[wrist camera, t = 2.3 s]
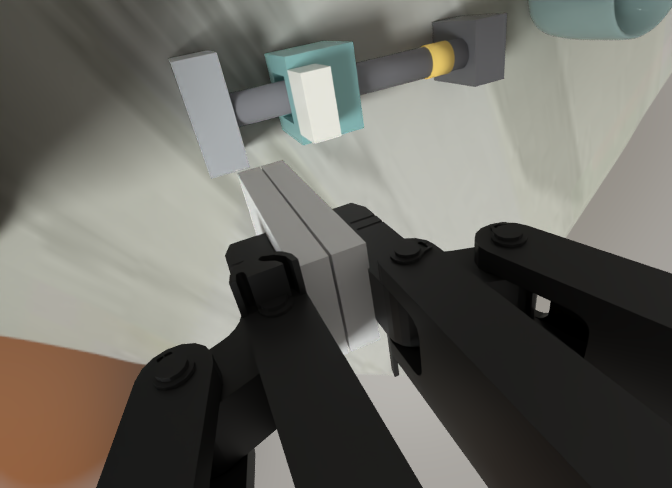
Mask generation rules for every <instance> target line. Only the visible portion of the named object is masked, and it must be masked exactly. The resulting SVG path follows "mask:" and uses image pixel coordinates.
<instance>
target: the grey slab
mask: <svg viewBox="0 0 672 488" xmlns="http://www.w3.org/2000/svg"><path fill="white" fill-rule="evenodd" d="M168 59H169V62H170V64H171V67H172V70H173V73H174V76H175V79H176V82H177V84H178V87H179V90H180V93H181V96H182V99H183V101H184V104H185V107H186V110H187V113H188V116H189V118H190V121H191V124H192V127H193V130H194V133H195V135H196V138H197V141H198V144H199V147H200V150H201V153H202V155H203V158H204V161H205V164H206V166H207V169H208V172H209V174H210V177H211V179H212V178H215V177H218V176H222V175H225V174H229V173H232V172H236V171H239V170H243V169H246V168H250V165H249V161H248V158H247V155H246V151H245V148H244V144H243V141H242V137H241V134H240V131H239V127H238V124H237V120H236V117H235V113H234V110H233V107H232V103H231V100H230V96H229V93H228V90H227V86H226V83H225V79H224V76H223V72H222V69H221V66H220V62H219V59H218V55H217V52H213V51H209V50H206V51H202V52H197V53H192V54H187V55H183V56H178V57H173V58H168Z"/></svg>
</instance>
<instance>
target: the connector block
mask: <svg viewBox="0 0 672 488" xmlns="http://www.w3.org/2000/svg"><path fill="white" fill-rule="evenodd" d="M506 24H507V13H497V14H482V15H467V16H458V17H453V18H449V19H444V20H440V21H435V22H432V26H433V43H436V42H440V41H450V40H454V39H458V38H462V39H463V40H465V42H466V43H467V45H468V49H469V60H468V63H467V65H466V66H465V67H464V68H462V69H458V70H455V71H451V72H450V73H448V74H444V75H440V76H437V77H434V80H436V81H442V82H448V83H455V84H461V85H467V86H474V87H476V86H479V85H483V84H487V83H490V82H494V81H497V80H501V79H504V66H505V45H506Z"/></svg>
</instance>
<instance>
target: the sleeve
mask: <svg viewBox="0 0 672 488" xmlns="http://www.w3.org/2000/svg"><path fill="white" fill-rule="evenodd" d="M264 55H265V59H266V63H267V67H268V72H269V76H270V80H271V83H275V82H279V81H283V80H285V84H286V89H287V93H288V98H289V103H290V107H291V112H292V113H290V114H286V115H283V116H279V118H280V122H281V127H282V130H283V131H285V132H286V133H287V134H289V135H290V136H291V137H293V138H294V139H295V140H297V141H298V142H299V143H301V144H302V145H306V144H309V143H314V144H315V143H319V142H322V141H326V140H329V139H333V138H336V137H340V136H342V135H341V134H345V133H348V132H352V131H355V130H359V129H362V128H364V123H363V115H362V108H361V100H360V92H359V85H358V77H357V69H356V62H355V54H354V46H353V42H348V41H320V42H316V43H311V44H306V45H302V46H297V47H293V48H288V49H284V50H279V51H275V52H270V53H266V54H264Z"/></svg>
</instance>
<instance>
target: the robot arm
mask: <svg viewBox="0 0 672 488" xmlns="http://www.w3.org/2000/svg"><path fill="white" fill-rule="evenodd" d="M261 167H262V170H261V168H260V167H257V168H253V169H250V170H246V171H243V172H240V173H237V174H238V177H239V181H240V184H241V187H242V190H243V193H244V197H245V200H246V203H247V206H248V209H249V213H250V216H251V219H252V222H253V225H254V229H255V232H256V235H257V236H254V237H251V238H248V239H245V240H242V241H239V242H236V243H233V244H230V246H229V248H228V250H227V253H226V255H225V257H226V261H227V264H228V267H229V270H230V274H231V275H230V279H229V284H230V287H231V290H232V292H233V295H234V297H235V300H236V303H237V305H238V308H239V311H240V313H241V319H240V322H239V323H238V325H237V327H236V328H235V330H234V331H233V332H232V333H231V334H230V335H229V336H228V337H226V338H225V339H224V340H223V341H221V342H220V343H218V344H217V345H215V346H214V347H212V348H211V349H208V348H207V347H206V346H203V345H200V344H196V343H191V344H181V345H178V346H175V347H173V348H170V349H167V350H165V351H164V352H162V353H161V354H159V355H157V356H156V357H154V358H153V359H152V360H151V361H150V362H149V363H148V364H147V365H146V366H145V367H144V368H143V369H142V370H141V372H140V374H139V375H138V377H137V379H136V380H135V382H134V385H133V388H132V391H131V394H130V396H129V399H128V402H127V404H126V407H125V410H124V413H123V415H122V418H121V421H120V424H119V426H118V429H117V432H116V435H115V438H114V440H113V443H112V446H111V448H110V451H109V454H108V457H107V459H106V462H105V465H104V468H103V471H102V474H101V476H100V479H99V481H98V484H97V487H96V488H254V478H255V449H254V448H255V447H256V446H257V445H258V444H260V443H261V442H262V441H263V440H264V439H266V438H267V437H268V436H269V435H270V434H271V433H273V432H274V431H275V430H276V429H277V431H278V434H279V437H280V440H281V444H282V447H283V450H284V453H285V456H286V460H287V463H288V466H289V469H290V473H291V476H292V479H293V482H294V485H295V488H423V487H422V486H421V484H420V482H419V481H418V479H417V477H416V476H415V474H414V472H413V471H412V469H411V467H410V465H409V464H408V462H407V460H406V459H405V457H404V455H403V454H402V452H401V450H400V449H399V447H398V445H397V444H396V442H395V440H394V439H393V437H392V435H391V434H390V432H389V430H388V429H387V427H386V425H385V423H384V422H383V420H382V418H381V417H380V415H379V413H378V412H377V410H376V408H375V407H374V405H373V403H372V402H371V400H370V398H369V397H368V395H367V393H366V392H365V390H364V388H363V386H362V385H361V383H360V382H359V380H358V378H357V376H356V375H355V373H354V371H353V370H352V368H351V366H350V365H349V363H348V361H347V360H346V358H345V356H344V355H345V354H347V353H349V351H348V347H349V348H350V350H351V352H352V351H354V350H357V349H359V348H361V347H364V346H366V345H368V344H371V343H373V342H375V341H378V340H380V334H379V327H378V323H379V324H380V325H381V327H382V328H383V329H384V331H385V332H386V333H387V337H388V344H389V352H390V359H391V366H392V371H393V373H394V376H395V377H396V376H398V375H399V370H398V363H399V365H400V366H401V367H402V369H403V370H404V372H405V373H406V374H407V376H408V377H409V378H410V380H411V381H412V383H413V384H414V385H415V387H416V388H417V390H418V391H419V392H420V394H421V395H422V396H423V398H424V399H425V401H426V402H427V403H428V405H429V406H430V407H431V409H432V410H433V412H434V413H435V414H436V416H437V417H438V419H439V420H440V421H441V422H442V424H443V425H444V427H445V428H446V430H447V431H448V432H449V434H450V435H451V437H452V438H453V439H454V441H455V442H456V443H457V445H458V446H459V448H460V449H461V450H462V452H463V453H464V454H465V456H466V457H467V458H468V460H469V461H470V463H471V464H472V466H473V467H474V468H475V469H476V471H477V472H478V474H479V475H480V477H481V478H482V479H483V481H484V482H485V484H486V485H487V486H488V488H672V274H671V273H668V272H665V271H662V270H659V269H656V268H653V267H650V266H647V265H644V264H641V263H638V262H635V261H632V260H629V259H626V258H623V257H620V256H617V255H614V254H611V253H608V252H605V251H602V250H599V249H596V248H593V247H590V246H587V245H584V244H581V243H578V242H575V241H572V240H569V239H566V238H563V237H560V236H557V235H554V234H551V233H548V232H545V231H542V230H539V229H536V228H533V227H530V226H527V225H522V224H518V223H507V222H500V223H495V224H490V225H488V226H485V227H483V228H481V229H480V230H479V231H478V232H477V233H476V235H475V247H473V248H467V249H460V250H454V251H445V252H444V251H443V250H441V249H440V248H439V247H437V246H436V245H435V244H433V243H431V242H429V241H427V240H422V239H417V238H407V239H404V238H403V237H401V236H400V235H399V234H398V233H396V232H395V231H394V230H393V229H392V228H390V227H389V226H388V225H387V224H386V223H384V222H382V220H381V219H379V218H378V217H377V216H375V215H374V214H373V213H372V212H371V211H370V210H368V209H367V208H366V207H364V206H360V205H357V204H354V203H349V204H346V205H343V206H340V207H337V208H334V209H331V208H330V207H329V206H328V205H327V204H326V203H325V202H324V201H323V200H322V199H321V198H320V197H319V196H318V195H317V194H316V193H315V192H314V191H313V190H312V189H311V188H310V187H309V186H308V185H307V184H306V183H305V182H304V181H303V180H302V179H301V178H300V177H299V176H298V175H297V174H296V173H295V172H294V171H293V170H292V169H291V168H290V167H289V166H288V165H287V164H286V163H285V162H284V161H283V160H281V161H277V162H274V163H271V164H267V165H264V166H261ZM537 295H539V296H541V297H543V298H546V299H548V300H550V301H551V303H550V310H549V313H542V312H539V311H537V310H535V308H536V298H537ZM347 345H348V346H347Z"/></svg>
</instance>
